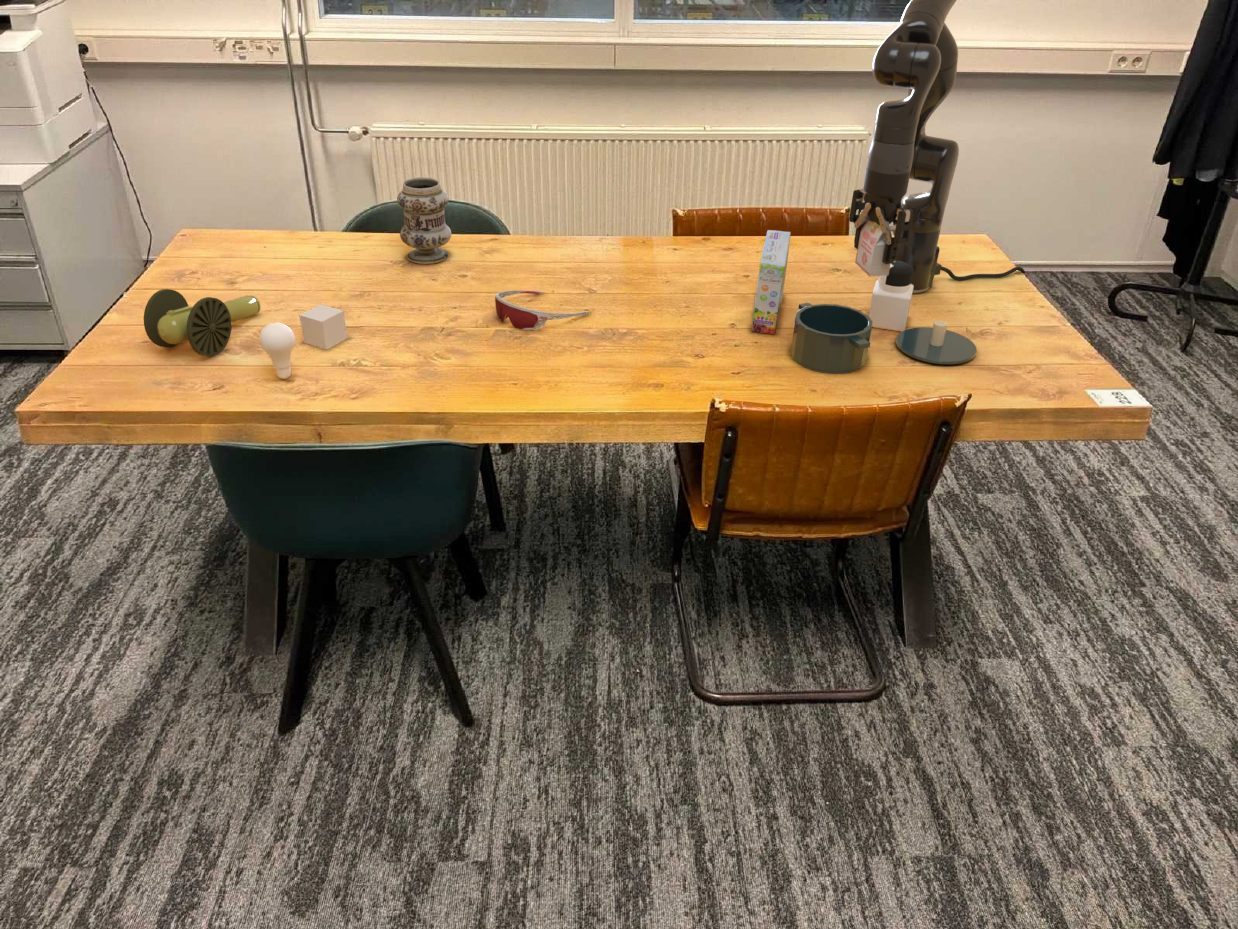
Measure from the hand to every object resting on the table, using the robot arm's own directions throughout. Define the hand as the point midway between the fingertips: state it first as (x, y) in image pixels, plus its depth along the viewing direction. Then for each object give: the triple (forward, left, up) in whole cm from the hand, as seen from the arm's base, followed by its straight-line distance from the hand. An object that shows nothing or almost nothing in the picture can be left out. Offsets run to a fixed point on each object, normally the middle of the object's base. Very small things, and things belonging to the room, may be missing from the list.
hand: (873, 255), depth 173 cm
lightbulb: (+103, -37, -22) cm, 111 cm away
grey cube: (+93, -50, -22) cm, 107 cm away
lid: (-18, +2, -21) cm, 28 cm away
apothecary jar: (+62, -86, -22) cm, 108 cm away
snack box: (+4, -26, -22) cm, 34 cm away
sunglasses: (+50, -45, -22) cm, 71 cm away
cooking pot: (+4, -4, -22) cm, 23 cm away
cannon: (+112, -60, -22) cm, 129 cm away
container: (-17, -12, -22) cm, 31 cm away
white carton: (0, 0, -3) cm, 3 cm away
